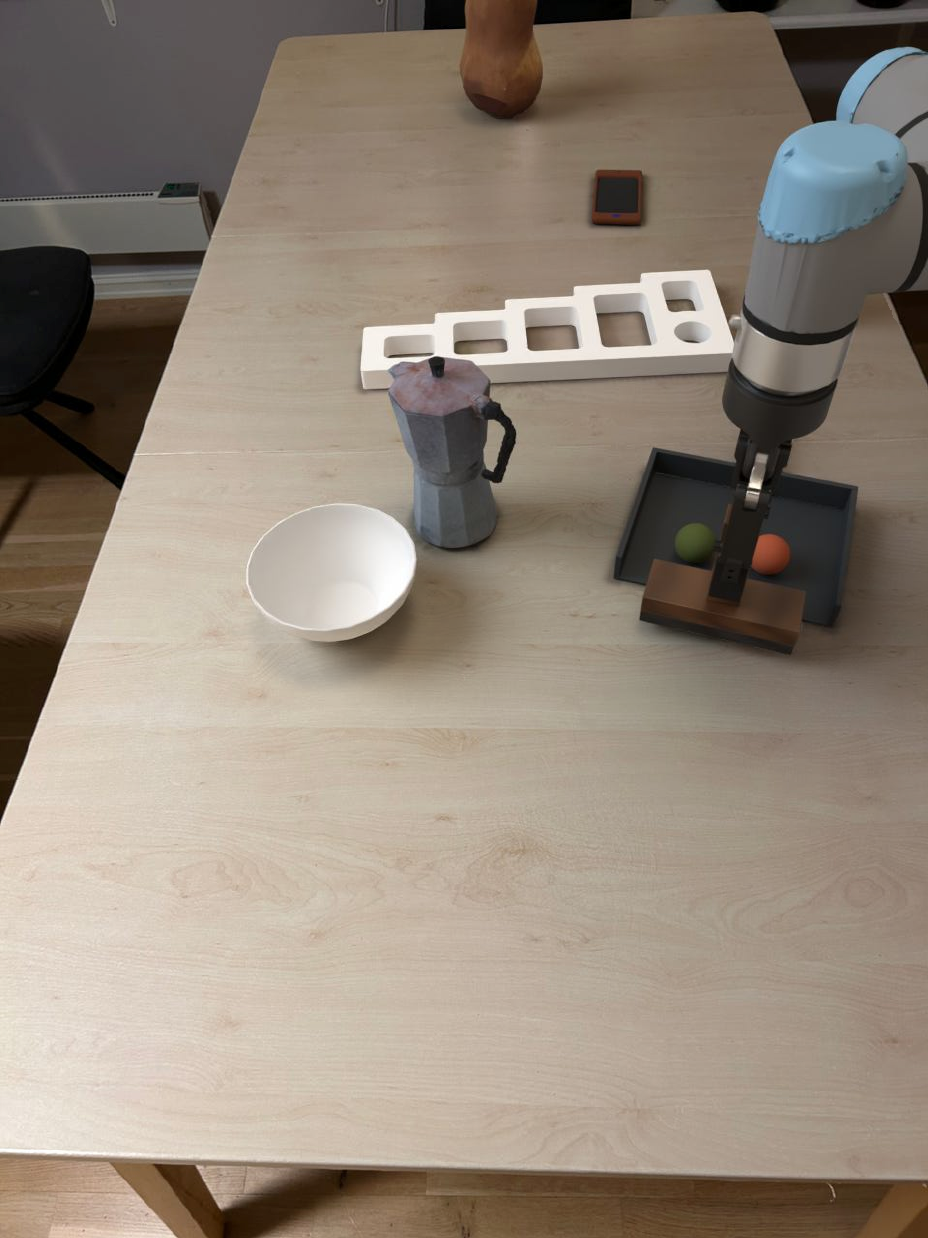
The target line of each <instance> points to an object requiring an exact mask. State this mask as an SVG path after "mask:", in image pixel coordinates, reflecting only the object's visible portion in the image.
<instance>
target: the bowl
mask: <svg viewBox="0 0 928 1238" xmlns="http://www.w3.org/2000/svg"><path fill="white" fill-rule="evenodd" d="M417 564H418V558H417V552H416V546H415V542H414V541H413V539H412V537H411V535H410V534H409V531H408V530H407V528H405V527H404V526H403V525H402V524H401V523H400V522H399V521H398V520H397V519H396V518H395V517H393V516H391V515H389V514H387V513H385V512H383V511H382V510H379V509H377V508H375V507H371V506H367V505H362V504H359V503H342V502H341V503H340V502H339V503H338V502H337V503H329V504H320V505H315V506H311V507H309V508H306V509H302V510H300V511H297V512H294V513H292V514H291V515H289V516H288V517H285V518H284V519H281V521H278V522H277V523H276V524H274V525H273V526H272V527H271V528H270V529H269V530H268V531H266V533H264V534H263V535H262V536H261V537H260V539H259V540H258V542H257V543H256V545H254V548H253V549H252V550H251V553H250V555H249V559H248V561H247V565H246V569H245V570H246V573H245V574H246V575H245V576H246V577H245V578H246V587H247V590H248V592H249V595H250V597H251V599H252V602H253V603H254V605H255V607H256V608H257V609H258V610H259V612H260V613H261V614H262V615H263V616H264V617H265V618H266V619H267V621H269V622H270V623H271V624H272V625H274V626H275V627H277V628H279V629H280V630H281V631H284V633H287V634H289V635H290V636H294V637H298V638H301V639H304V640H308V641H311V642H325V643H326V642H328V643H335V642H340V641H348V640H352V639H355V638H358V637H360V636H363V635H366V634H368V633H371V632H373V631H374V630H376V629H377V628H379V627H380V626H382V625H383V624H385V623H386V622H388V620H390V619H391V618H392V616H393V615H395V614H396V612H397V611H398V610H399V609H400V608H401V607H402V606H403V605H404V603H405V601H406V599H407V597H408V596H409V594H410V592H411V590H412V588H413V585H414V582H415V577H416V571H417V566H418V565H417Z"/></svg>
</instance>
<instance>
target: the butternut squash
mask: <svg viewBox="0 0 928 1238" xmlns="http://www.w3.org/2000/svg"><path fill="white" fill-rule="evenodd" d="M537 7H538V0H465V3H464V16H465V38H464V42H463V47H462V53H461V57H460V62H459V74H460V78H461V81H462V87H463V90H464V94H465V95H466V97H467V98H468V100H469V101H470V103H471V104H472V105H473V106H474V107H475V108H476V109H478V110H479V111H482V112H484V113H488V114H490V115H492V116H494V118H496V119H509V120H511V119H512V118H514V117H515V116H518V115H521V114H524V113H525V112H526V111H528V110H529V109H530V108H531V107H532V106H533V105H534V103H535V102H536V100H537V97H538V95H539V93H540V91H541V88H542V84H543V78H544V65H543V61H542V56H541V52H540V49H539V46H538V43H537V40H536V38H535V32H534V23H535V18H536V13H537Z"/></svg>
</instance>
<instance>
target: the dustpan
mask: <svg viewBox="0 0 928 1238" xmlns="http://www.w3.org/2000/svg"><path fill="white" fill-rule="evenodd" d="M735 464H736V462H733V461H728V460H723V459H717V458H712V457H707V456H703V455H702V456H701V455H696V454H692V453H685V452H681V451H676V450H669V449H665V448H660V447H655V446H653V447H652V448H651V452H650V454H649V457H648V460H647V463H646V467H645V469H644V471H643V475H642V478H641V480H640V484H639V487H638V489H637V492H636V496H635V498H634V502H633V505H632V508H631V510H630V513H629V517H628V519H627V523H626V525H625V528H624V531H623V534H622V537H621V539H620V543H619V545H618V548H617V552H616V555H615V559H614V560H615V561H614V568H613V569H614V570H613V579H616V580H620V581H623V582H629V583H633V584H638V585H643V586H646V584H647V580H648V577H649V574H650V570H651V567H652V564H653V560H654V559H658V560H663V561H667V562H672V563H677V564H681V565H686V566H691V567H695V568H700V569H704V570H709V571H713V566H714V562H715V558H716V554H717V552H715V551H714V553H713V554H712V556H711V557H710V558H709V559H707V560H706V561H704V562H701V563H689V562H686V561H684V560H683V559H682V558H681V557H680V556H679V555H678V554H677V552H676V549H675V538H676V535H677V533H678V532H679V531H680V530H681V529H682V528H683V527H684V526H686V525H688V524H692V523H700V524H703V525H706V526H707V527H709V528H710V529H711V530H712V532H713V533H714V535H715V538H716V540H720V537H721V533H722V529H723V525H724V521H725V516H726V512H727V508H728V505H729V504H731V502H732V500H733V499H734V496H733V494H734V490H735V489H734V488H733V487H732V486H731V481H732V477H733V472H734V468H735ZM773 473H774V471H773ZM773 473H772V475H773ZM771 477H772V476H771ZM858 493H859V486H858V485H855V484H848V483H844V482H837V481H832V480H828V479H822V478H817V477H811V476H806V475H801V474H795V473H791V472H786V471H782V472H781V475H780V479H779V482H778V486H777V489H776V492H775V493H774V494H773V495H771V496H772V501H771V503H769V504H768V507H771V508H770V513H769V516H768V519H763V523H762V528H761V532H760V535H759V536H761V535H765V534H774V535H777V536H779V537H781V538H783V539H784V540H785V541H786V543H787V544H788V546H789V549H790V559H789V562H788V564H787V566H786V567H785V568H784V569H783V570H782V571H780V572H778V573H776V574H773V575H764V574H760V573H758V572H756V571H755V570H754V569H753V568H752V567H750V570H749V574H748V577H747V579H751V580H756V581H760V582H765V583H770V584H774V585H779V586H784V587H788V588H793V589H798V590H802V591H806V597H805V603H804V609H803V616H802V622H804V623H809V624H812V625H817V626H821V627H825V628H830V629H834V626H835V624H836V622H837V620H838V617H839V615H840V612H841V610H842V608H843V603H844V596H845V588H846V581H847V574H848V566H849V559H850V551H851V544H852V536H853V530H854V529H853V528H854V522H855V514H856V506H857V501H858Z"/></svg>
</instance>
